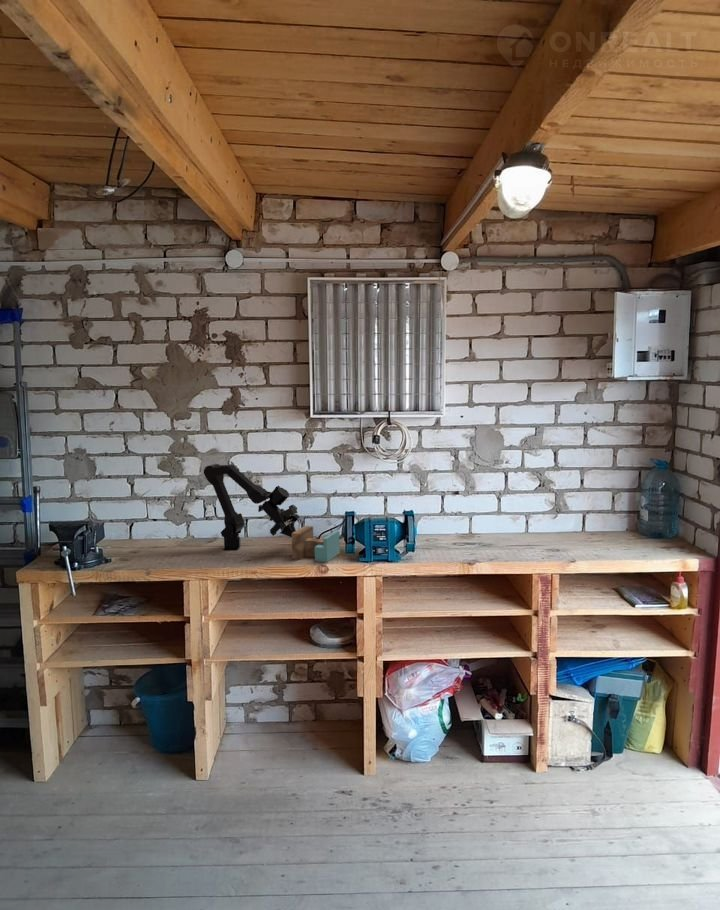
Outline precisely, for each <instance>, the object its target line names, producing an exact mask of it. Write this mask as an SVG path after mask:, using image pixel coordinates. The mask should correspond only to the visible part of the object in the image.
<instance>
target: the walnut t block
mask: <svg viewBox="0 0 720 910" xmlns="http://www.w3.org/2000/svg"><path fill="white" fill-rule="evenodd" d="M317 545H323V538H315V537H314V526H309V525H304V526H302V527H301V528H298V529H297V530H296V531H295V532H293V533H292V537H291V550H292V551H291V553H292V554H291V558H292V559H295V560H302V559H304V558H306V557H308V558H309V557H310V558H315V547H316V546H317Z"/></svg>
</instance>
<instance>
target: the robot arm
mask: <svg viewBox="0 0 720 910" xmlns="http://www.w3.org/2000/svg"><path fill="white" fill-rule="evenodd" d="M203 475H204V477H205V478H206V480H207V482H208V483H210V484H211V485H212V487H213V489H214V491H215V494H216V497H217V499H218V502H219V504H220V506H221V509H222V512H223V515H224V520H223V521H224V526H225V527H224V528H223V529H222V530H221V531H220V535H221V537H222V538H223V546H224V548H223V550H224V551H238V550H239V549H240V548H241V544H242V543H241V540H242V539H241V537H240V534H241V533H242V530H243V529H244V527H245V519H244V518H243V515H242V513H241V512H240V513H238V512H237V511H236V510H235V508H234V505H233V503H232V500H231V497H230V495H229V493H228V490H227V488H226V485H225V482H224V477H225V475H227V476H228V477H229V478H230V479H232V481H234V482H235V483H236V484H237V485H238V486H240V488H242V489H243V490H244V491H245V492H246V494H247V497H248V498H249V499H250V500H251V501H252V502H251V503H254V504H256V505H258V504H259V505H258V510H257V511H258V513H260V512H262V511H263V512H264V513H265V514H266V515H267V516H268V517H269V521H270V522H272V521H273V522H274V523H275V524H274V525H273V526H272V527H271V528H270V529H269V534H271V535H272V536H275V535H277V533H278V532H279V530H280V532H279V534H282V535H284V536H286V537H289V538H292V533H293V532H295V531H297V530H296V527H295V523H296V522H297V521H299V519H300V518H301V517H300V515H299V514H298V507H297V506H296V505H294V504H291V505H289V506H288V509H286V510H285V509H284V508H280V507H279V506H281V505H282V504H284V502H285V501H286V500H287V499H288V498H289V497H290V493H289V491H288V490H287V489H285V488H283V487H281V486H280V485H276V486H275V487H274V489H273V490H272V491H268V490H267V489H266V488H264V487H262V486H260V485H259V484H256V483H254V482H252V481H251V480H250V479H249V478H248V477H247V476H246V475H245V474H243V473H242V472H241V471H240V470H239V469H237V468H236V466H235V465H234V464H232V463H230V464H223V465H221V464H219V463H213V464H210V465H207V466H205V467H204V469H203ZM261 503H262V504H261Z"/></svg>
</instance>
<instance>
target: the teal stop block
mask: <svg viewBox="0 0 720 910" xmlns="http://www.w3.org/2000/svg"><path fill="white" fill-rule="evenodd" d="M322 539H323V545H317V546H316V547H315V557H314V562H319V563H320V562H322V563H328V562H329V561H331V560H332V559H334V558H335V557H336V556H337V555H339V554H340V552H341V551H340V530H339V529H337V530H334V531H333V532H331V533H329V534H328V535H326V536H325V537H323V538H322Z"/></svg>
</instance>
